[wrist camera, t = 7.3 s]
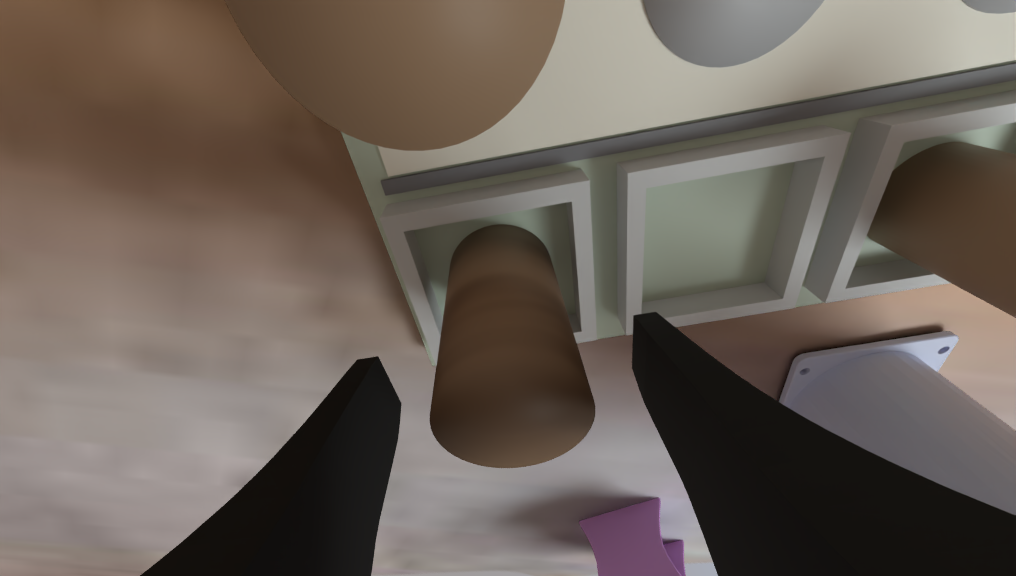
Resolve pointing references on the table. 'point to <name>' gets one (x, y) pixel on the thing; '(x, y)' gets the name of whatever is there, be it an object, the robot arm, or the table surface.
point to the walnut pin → (507, 356)
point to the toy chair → (633, 543)
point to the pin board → (672, 143)
